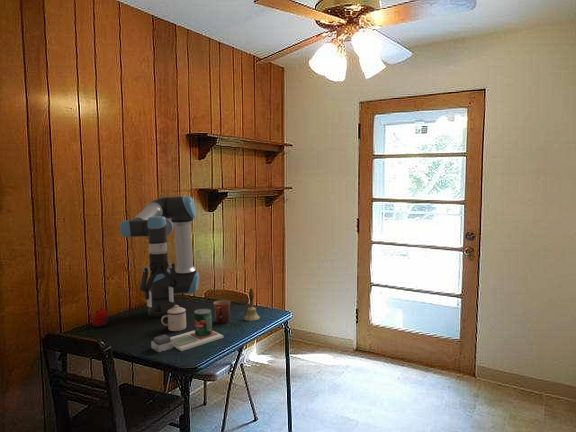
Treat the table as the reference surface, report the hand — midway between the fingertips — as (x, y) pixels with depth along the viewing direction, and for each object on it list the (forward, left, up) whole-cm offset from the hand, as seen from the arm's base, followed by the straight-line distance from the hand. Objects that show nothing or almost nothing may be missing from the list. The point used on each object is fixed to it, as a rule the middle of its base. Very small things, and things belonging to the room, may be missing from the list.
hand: (160, 304), depth 178 cm
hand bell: (-3, +52, -20) cm, 55 cm away
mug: (-9, +37, -20) cm, 42 cm away
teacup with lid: (-19, +16, -20) cm, 31 cm away
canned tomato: (+1, +20, -19) cm, 27 cm away
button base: (0, 0, -20) cm, 20 cm away
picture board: (+1, +15, -20) cm, 24 cm away
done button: (0, 0, -18) cm, 18 cm away
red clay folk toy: (-51, -8, -20) cm, 55 cm away
